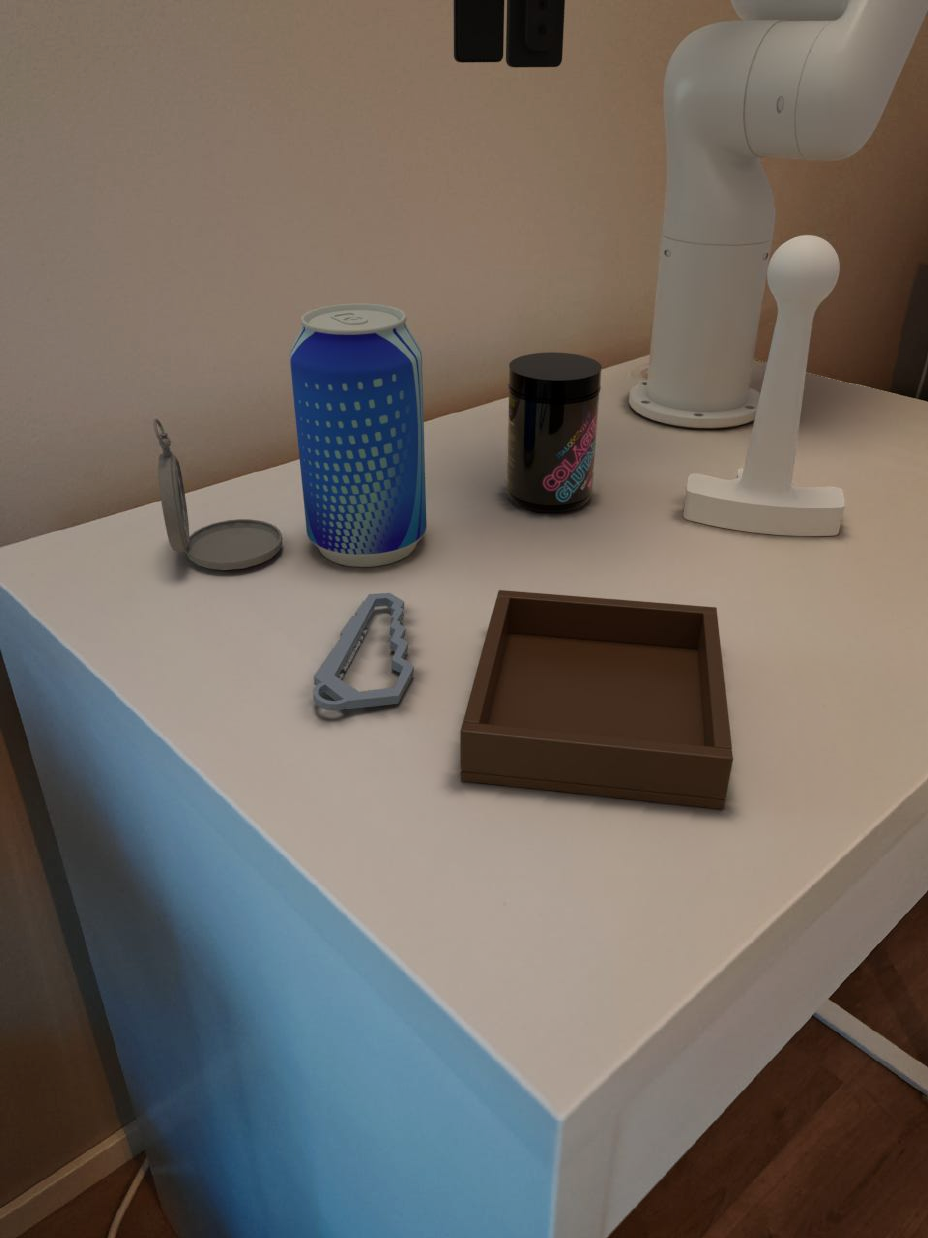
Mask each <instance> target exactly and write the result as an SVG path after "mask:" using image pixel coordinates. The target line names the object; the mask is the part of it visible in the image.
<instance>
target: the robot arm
mask: <svg viewBox="0 0 928 1238" xmlns="http://www.w3.org/2000/svg"><path fill="white" fill-rule="evenodd" d="M730 3H731V6H732V8H733V10H734V12H735V14H736V15H737V16H738V18H739V19H737V20H725V21H719V22H714V23H711V24H707V25H704V26H702V27H700V28H697V29H696V30H694V31H692V32H691V33H689V34H687V36H685V38H683V39H682V41H680V42H679V43H678V45H677V46H676V48H675V49H674V51H673V52H672V54H671V56H670V59H669V61H668V64H667V67H666V69H665V73H664V74H665V75H664V80H663V91H662V92H663V94H662V103H663V120H664V131H665V148H666V150H665V151H666V176H665V178H666V179H665V180H666V181H665V196H664V197H665V198H664V206H663V220H662V229H661V237H660V238H661V240H660V247H659V248H660V249H659V258H658V269H657V278H656V286H655V287H656V288H655V297H654V298H655V299H654V310H653V317H652V318H653V319H652V328H651V329H652V330H651V339H650V349H649V357H648V358H649V359H648V370H647V378H646V379H645V380H642V381H640V382H638V383H636V384H634V385H633V386H632V387H631V389H630V391H629V398H628V399H629V401H628V403H629V406H630V407H631V408H632V409H633V411H635V412H636V413H637V414H639V415H641V416H643V417H644V418H646V419H649V420H652V421H655V422H659V423H662V424H666V425H672V426H676V427H683V428H694V429H722V428H732V427H738V426H741V425H745V424H746V425H747V424H749V423H750V422H754V420H755V416H756V411H757V407H758V402H759V397H760V392H759V391H757V390H755V389H754V388H752V387H751V385H750V384H751V378H752V372H753V371H752V370H753V365H754V359H755V352H756V346H757V340H758V334H759V333H758V332H759V327H760V319H761V314H762V308H763V302H764V294H765V287H766V283H767V270H768V265H769V262H770V256H771V249H772V243H773V238H774V234H775V233H774V232H775V227H776V226H775V225H776V213H777V211H776V202H775V196H774V193H773V190H772V187H771V184H770V181H769V178H768V177H767V174H766V172H765V170H764V167H763V164H762V163H761V159H760V158H762V159H763V158H773V159H783V160H784V159H785V160H795V161H807V162H811V161H814V162H836V161H841V160H845V159H848V158H850V157H852V156H853V155H855V154H857V153H858V152H859V151H860V150H861V149H862V148H863V147H864V146H865V145H866V144H867V142H868V141H869V140H870V138H871V137H872V135H873V133H874V131H875V130H876V128H877V126H878V124H879V122H880V120H881V118H882V116H883V113H884V111H885V110H886V107H887V105H888V103H889V100H890V98H891V96H892V93H893V91H894V88H895V87H896V84H897V82H898V79H899V77H900V75H901V73H902V70H903V68H904V65H905V64H906V61H907V59H908V56H909V55H910V52H911V50H912V48H913V45H914V43H915V40H916V39H917V36H918V35H919V32H920V30H921V28H922V25H923V22H924V20H925V18H926V15H927V13H928V0H730ZM565 9H566V0H506V29H505V0H453V58H454V60H455V62H457V63H461V64H462V63H500V62H501V61H502V60H503V59H504V45H505V63H506V65H507V66H508V67H510V68H558V67H559V66H561V64H562V62H563V51H564V31H565V29H564V28H565ZM505 30H506V31H505ZM505 32H506V33H505ZM504 37H505V38H504ZM504 40H505V41H504ZM504 42H505V44H504Z"/></svg>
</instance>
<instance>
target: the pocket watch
mask: <svg viewBox="0 0 928 1238" xmlns="http://www.w3.org/2000/svg"><path fill="white" fill-rule="evenodd" d="M158 427H159V429H160V432H159V429H158ZM153 430H154V433H155V435H156V438H157V440H158V444H159V446H160V448H161V451H162V453H160V454H159V455H158V467H157V469H158V470H157V473H158V474H157V475H158V483H159V493H160V503H161V508H162V515H163V520H164V526H165V530H166V535H167V538H168V543H169V545H170V547H171V550H172V551H173V552H178V553H182V552H184V554H186V556H187V557H188V559H189V560H190V561H191V562H192V563H194V564H196V565H197V566H198V567H203V568H207V569H209V570H220V571H221V570H222V571H228V570H241V569H247V568H251V567H254V566H258V565H260V564H263V563H265V562H267V561H269V560H271V559H272V558H273V557H274V556H276V555H277V553H279V552H280V550H281V549H282V546H283V533H282V531H281V529H279V528H278V527H277V526H275V525H274V524H272V523H270V522H267V521H264V520H257V519H256V520H255V519H252V518H251V519H249V518H239V519H229V520H223V521H218V522H213V523H211V524H208V525H205V526H202V527H200V528H199V529H197V530H195V531H194V532H193V533H191V534H190V522H189V515H188V505H187V499H186V493H185V487H184V480H183V475H182V471H181V466H180V461H179V460H178V458H177V456H176V455H174V453H173V452H172V451H171V445H172V440H171V439H170V437H169V436H168V432H165V429H164V427H163V425H162V423H161V421H160V420H159V419H158V418H153Z"/></svg>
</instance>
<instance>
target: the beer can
mask: <svg viewBox="0 0 928 1238" xmlns="http://www.w3.org/2000/svg"><path fill="white" fill-rule="evenodd" d="M406 322H407V314H406V312H405V311H404V310H402V309H400V308H398V307H395V306H392V305H391V306H390V305H385V304H377V303H362V302H361V303H360V302H359V303H358V302H357V303H355V302H354V303H340V304H339V303H338V304H332V305H326V306H321V307H317V308H313V309H310V310H308V311H306V312H305V313H303V315H302V316H301V317H300V324H301V328H300V331H299V333H298V335H297V337H296V339H295V341H294V343H293V345H292V347H291V349H290V351H289V352H290V353H289V365H290V366H289V367H290V377H291V386H292V397H293V406H294V408H293V409H294V416H295V417H294V418H295V428H296V437H297V447H298V457H299V466H300V468H299V469H300V477H301V488H302V497H303V498H302V499H303V507H304V508H303V510H304V517H305V519H304V520H305V528H306V529H305V530H306V535H307V537H308V539H309V540H310V542H311V543H312V544H313V545H315V546H316V547H317V548H318V550H319V553H321V555H322V556H323V557H325V558H326V559H327V560H329V561H331V562H333V563H336V564H338V565H343V566H347V567H353V568H372V567H379V566H380V567H381V566H385V565H389V564H394V563H396V562H398V561H401V560H403V559H405V558H406V557H408V556H409V555H411V554H412V553H413V551H414V550H415V549H416V547H417V544H418V542H419V541H420V540H421V539H422V538H423V537H424V535H425V533H426V531H427V493H426V492H427V491H426V489H427V488H426V457H425V455H426V454H425V419H424V417H425V416H424V413H425V412H424V378H423V377H424V376H423V351H422V348H421V346H420V344H419V342H418V340H417V339H416V337H415V336H414V334H413V332H412V331H411V329H410V328H409V326H408V325H407V323H406Z"/></svg>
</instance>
